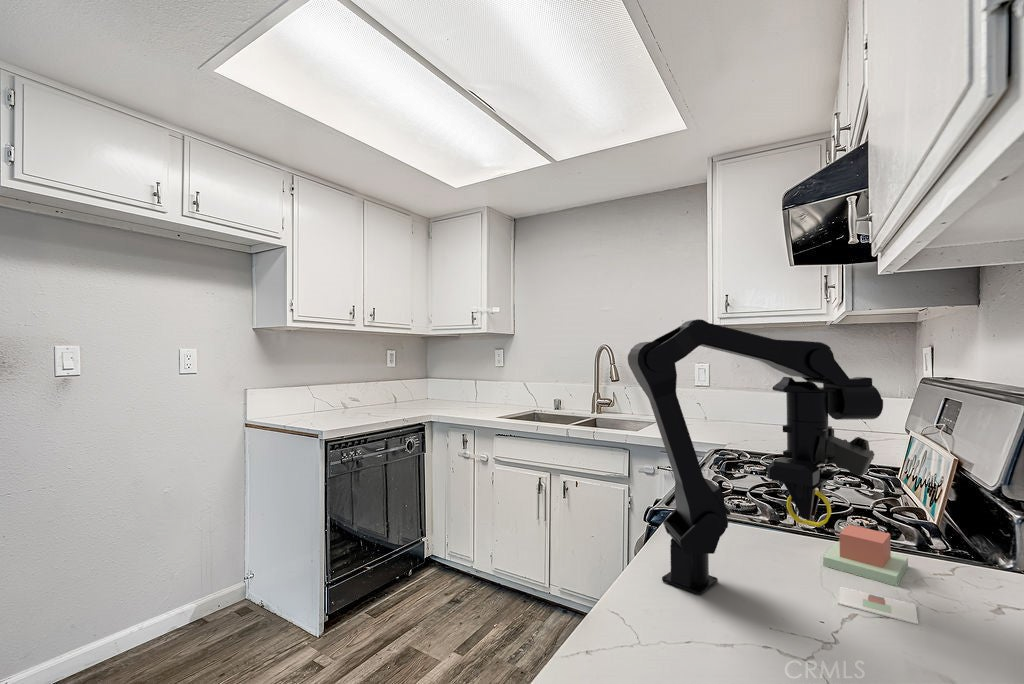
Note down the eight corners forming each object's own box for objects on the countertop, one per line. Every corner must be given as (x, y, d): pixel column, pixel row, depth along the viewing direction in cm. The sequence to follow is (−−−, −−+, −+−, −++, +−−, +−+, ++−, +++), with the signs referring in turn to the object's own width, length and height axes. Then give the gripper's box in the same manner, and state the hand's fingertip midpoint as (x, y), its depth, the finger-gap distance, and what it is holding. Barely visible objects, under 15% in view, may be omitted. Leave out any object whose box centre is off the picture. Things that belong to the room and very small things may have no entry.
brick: (883, 568, 79) (882, 543, 79) (839, 556, 83) (839, 533, 83) (890, 557, 83) (890, 533, 83) (848, 546, 87) (848, 524, 87)
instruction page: (918, 624, 65) (918, 623, 65) (837, 603, 71) (837, 602, 71) (915, 605, 70) (915, 604, 70) (840, 587, 75) (840, 586, 75)
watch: (831, 527, 77) (833, 490, 77) (828, 532, 75) (831, 494, 75) (788, 516, 81) (790, 481, 81) (784, 521, 79) (787, 484, 79)
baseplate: (896, 586, 76) (896, 576, 76) (823, 565, 83) (823, 556, 83) (908, 566, 83) (907, 557, 83) (839, 548, 90) (838, 540, 90)
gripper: (852, 433, 66) (854, 548, 66) (881, 418, 78) (882, 515, 78) (765, 424, 74) (766, 527, 74) (804, 412, 87) (805, 500, 86)
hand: (808, 517), depth 78 cm, fingers closed on watch, 2 cm apart
